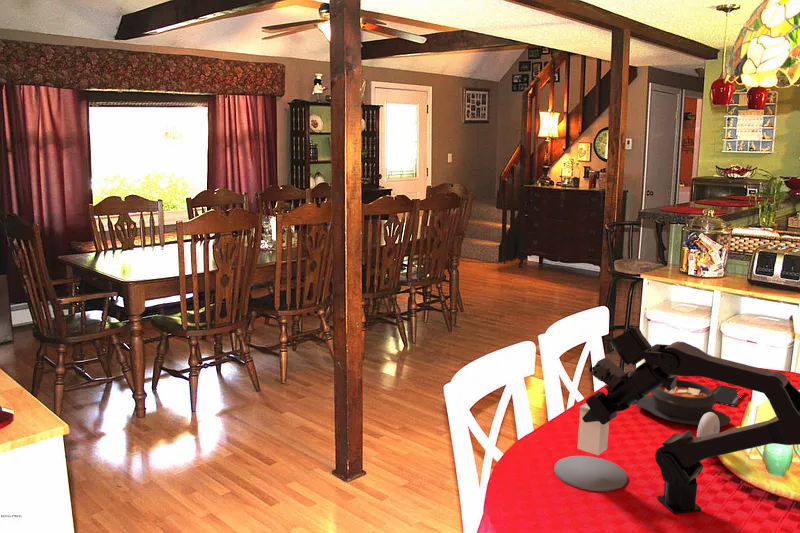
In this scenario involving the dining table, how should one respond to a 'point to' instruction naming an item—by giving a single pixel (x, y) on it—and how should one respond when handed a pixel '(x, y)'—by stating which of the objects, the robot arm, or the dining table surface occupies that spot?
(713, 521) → the dining table surface
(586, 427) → the card box
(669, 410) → the casserole
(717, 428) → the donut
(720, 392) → the phone
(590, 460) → the mat
